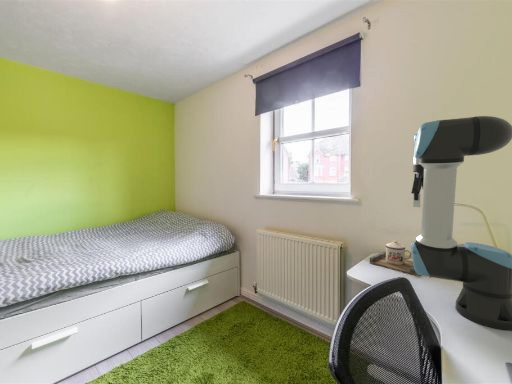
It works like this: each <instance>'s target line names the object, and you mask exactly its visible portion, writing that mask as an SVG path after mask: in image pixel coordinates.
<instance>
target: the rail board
mask: <svg viewBox="0 0 512 384" xmlns="http://www.w3.org/2000/svg"><path fill="white" fill-rule="evenodd" d="M369 264H372V265H375V266H379V267H382V268H386V269H389V268H390V270H393V269H394V270H393V271H396V272H400V271H401V272H400V273H405V274H409V275H412V276H415V275H416V274H417V273H416V272H415V270H414V265H413V260H409V259H407V260H406V259H405V260H404V264H403V265H395V264H390V263H388V262H386V251H382V252H379V253H378V254H375V255H373V256H371V257H370V256H369Z"/></svg>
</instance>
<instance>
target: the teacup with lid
mask: <svg viewBox="0 0 512 384" xmlns="http://www.w3.org/2000/svg"><path fill="white" fill-rule="evenodd" d="M385 252H386V262H388V263H390V264H395V265H403V264H404V260H409V259H412V251H411V250H409V249H406V245H403V244H401V243H399V242H398V240H393V241H392V242H389V243H386V244H385ZM405 252H407V253H409V256H408V257H405Z"/></svg>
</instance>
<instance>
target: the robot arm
mask: <svg viewBox="0 0 512 384" xmlns="http://www.w3.org/2000/svg"><path fill="white" fill-rule="evenodd" d="M511 140H512V124H511V123H510V122H509V121H508V120H505V119H503V118H501V117H497V116H492V115H491V116H490V115H479V116H471V117H470V116H469V117H460V118H451V119H438V120H432V121H428V122H424V123H422V124H421V125H420V126H419V128H418V131H417V133H416V134H414V136H413V156H412V159H413V160H412V162H413V163H412V164H413V165H412V167H413V168H412V169H413V170H412V172H413V173H414V179H413V183H412V188H411V193H410V194H412V195H413V198H412V199H413V200H412V201H413V202H412V203H413V204H412V205H413V207H414V208H422V209H421V229H420V234H419V235H417V236H416V237H415V241H411V242H410V252H411V253H412V256H411V259H412V261H413V265H414V270H415V272H416V274H417V275H419V276H423V277H428V278H430V279H431V278H434V279H441V280H446V281H447V280H448V281H454V282H461V283H462V288H461V291H460V292H459V294H458V296H457V298H456V300H455V310H456V312H457V313H459V314H460V315H461V316H462V317H464V318H466V319H467V320H470V321H472V322H474V323H477V324H479V325H482V326H486V327H489V328H493V329H497V330H504V331H505V330H506V331H512V254H511V253H510V252H509V251H507V250H505V249H502V248H499V247H495V246H492V245H488V244H483V243H479V242H472V241H471V242H469V241H468V242H467V241H466V242H464V243H463V244H464V245H463V246H464V247H458V244H459V243H458V241H456V240H455V238H453V230H454V229H453V228H454V217H455V216H454V215H455V202H456V201H455V199H456V187H457V186H456V185H457V172H458V167H459V166H460V165H462V164H464V162H465V157H466V156H467V157H468V156H482V155H486V154H487V155H488V154H490V153H494V152H496V151H499V150H501V149H503V148H505V147H506V146H507V145H509V143H511ZM421 190H422V203H421ZM421 204H422V205H421ZM421 206H422V207H421Z"/></svg>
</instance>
